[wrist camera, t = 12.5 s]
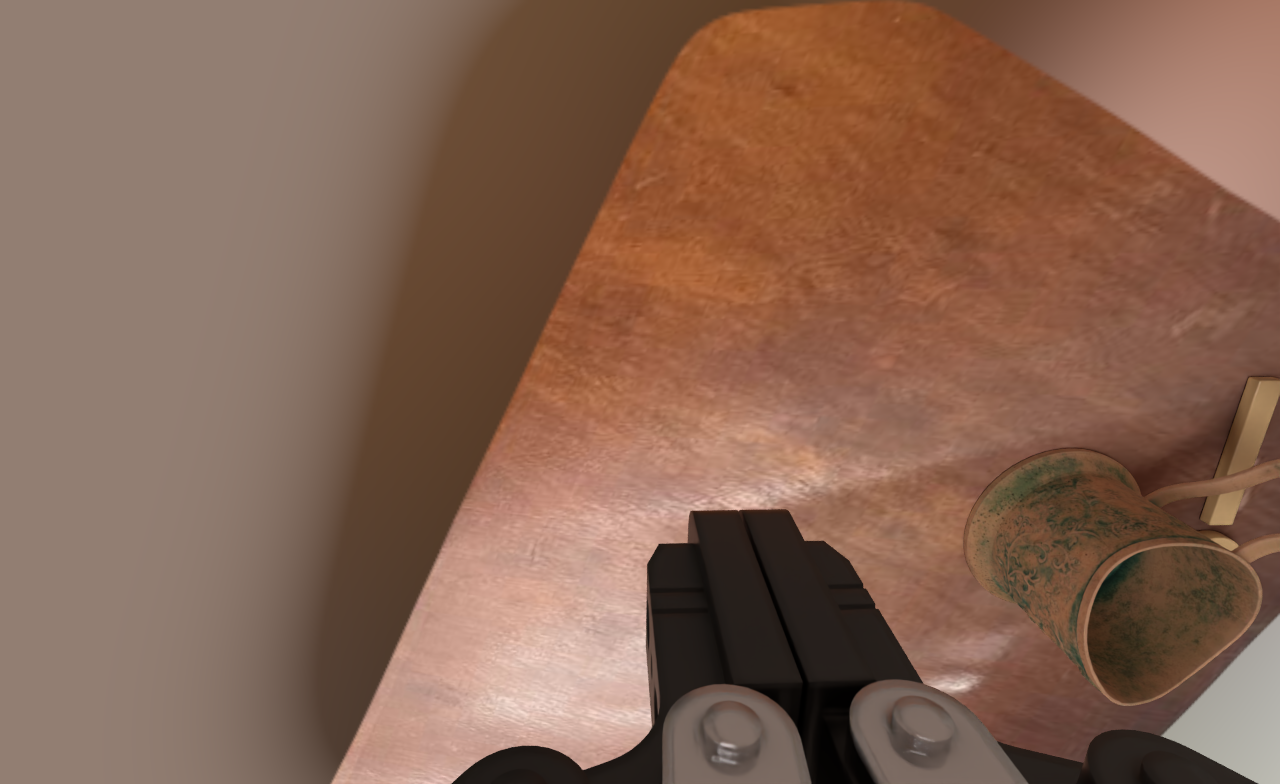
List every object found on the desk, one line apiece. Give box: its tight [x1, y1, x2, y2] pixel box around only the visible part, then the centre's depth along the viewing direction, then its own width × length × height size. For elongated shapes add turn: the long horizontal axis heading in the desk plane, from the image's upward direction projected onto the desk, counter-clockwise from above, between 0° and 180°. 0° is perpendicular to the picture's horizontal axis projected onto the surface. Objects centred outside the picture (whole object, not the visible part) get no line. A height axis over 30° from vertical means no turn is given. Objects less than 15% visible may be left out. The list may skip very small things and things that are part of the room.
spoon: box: [1198, 377, 1280, 551], centre depth 41 cm, size 15×4×1 cm, turn 179°
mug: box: [964, 448, 1280, 706], centre depth 36 cm, size 12×18×12 cm, turn 133°
